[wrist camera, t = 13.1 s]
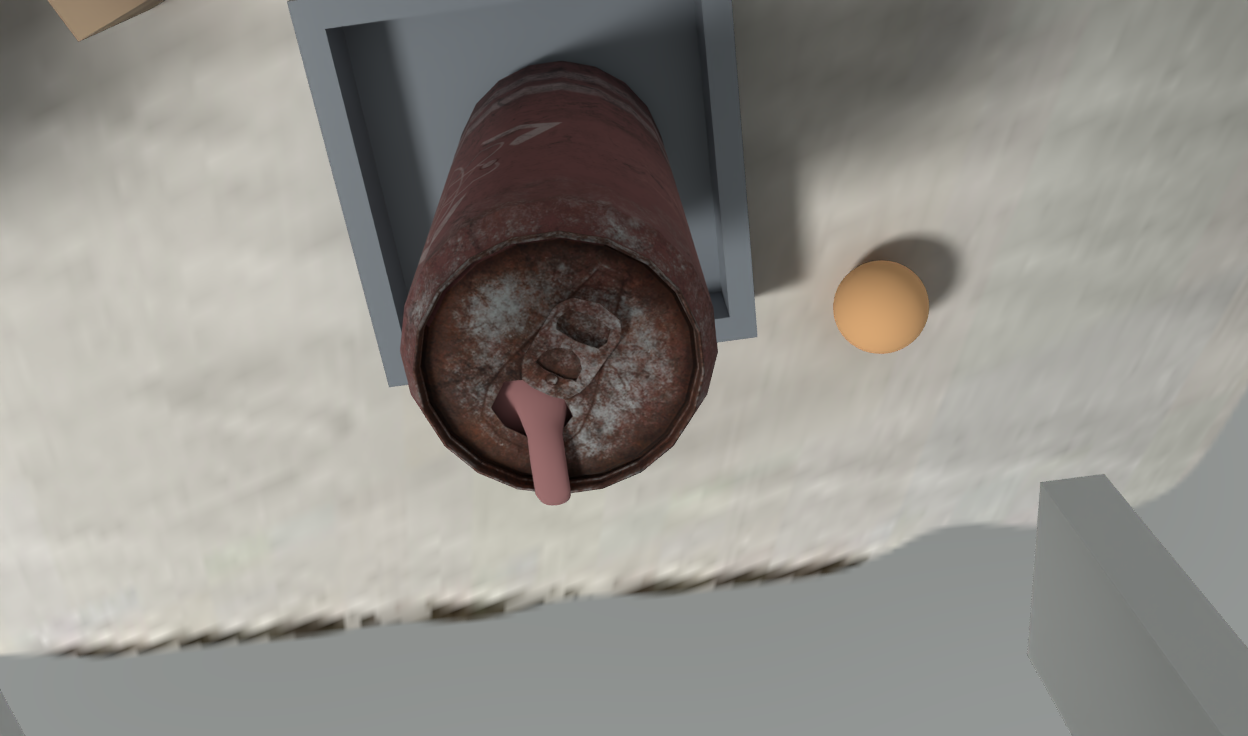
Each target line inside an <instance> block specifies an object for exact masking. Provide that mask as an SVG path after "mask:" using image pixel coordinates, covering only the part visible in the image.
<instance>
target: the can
mask: <svg viewBox="0 0 1248 736" xmlns="http://www.w3.org/2000/svg"><path fill="white" fill-rule="evenodd" d="M717 353H718V349H717V339H716V329H715V319H714V309H713V305H712V301H711V298H710V295H709V292H708V288H707V285H706V282H705V278H704V275H703V272H702V269H701V265H700V262H699V259H698V255H697V252H696V249H695V246H694V242H693V239H692V236H691V232H690V229H689V226H688V223H687V219H686V216H685V213H684V209H683V206H682V203H681V200H680V196H679V193H678V190H677V186H676V183H675V180H674V177H673V173H672V170H671V167H670V163H669V160H668V157H667V154H666V150H665V147H664V144H663V140H662V137H661V135H660V132H659V130H658V128H657V126H656V124H655V122H654V119H653V117H652V115H651V113H650V111H649V109H648V107H647V105H646V104H645V103H644V102H643V101H642V100H641V99H640V98H639V97H638V96H637V95H636V94H635V93H634V92H633V91H632V90H631V89H630V87H629V86H628V85H627V84H626V83H625V82H623V81H621V80H619V79H617V78H616V77H614V76H612V75H610V74H608V73H606V72H605V71H603V70H601V69H599V68H597V67H595V66H589V65H584V64H578V63H573V62H567V61H556V62H549V63H542V64H535V65H529V66H527V67H525V68H523V69H521V70H519V71H517V72H515V73H513V74H511V75H509V76H507V77H505V78H503V79H501V80H499V81H498V82H497V83H496V84H495V85H494V86H493V87H492V88H491V89H490V90H489V91H488V92H487V93H486V94H485V95H484V96H483V97H482V98H481V99H480V100H479V101H478V102H477V103H476V105H475V107H474V109H473V111H472V113H471V116H470V118H469V120H468V122H467V124H466V126H465V128H464V130H463V132H462V135H461V138H460V141H459V144H458V147H457V150H456V153H455V156H454V159H453V162H452V165H451V168H450V171H449V174H448V177H447V180H446V183H445V186H444V189H443V192H442V195H441V198H440V201H439V204H438V207H437V210H436V213H435V216H434V219H433V222H432V225H431V228H430V231H429V234H428V237H427V240H426V243H425V246H424V249H423V252H422V255H421V258H420V261H419V264H418V267H417V270H416V273H415V276H414V279H413V282H412V285H411V288H410V291H409V294H408V297H407V300H406V303H405V306H404V315H403V325H402V335H401V345H400V354H401V358H402V361H403V365H404V369H405V373H406V377H407V381H408V385H409V389H410V392H411V395H412V397H413V398H414V400H415V401H416V403H417V404H418V406H419V407H420V409H421V410H422V412H423V414H424V415H425V417H426V418H427V420H428V421H429V423H430V424H431V426H432V427H433V429H434V430H435V432H436V433H437V435H438V437H439V438H440V440H441V441H442V443H443V444H444V446H445V447H446V448H448V449H449V450H450V451H451V452H453V453H454V454H455V455H456V456H458V457H459V458H460V459H461V460H463V461H464V462H465V463H466V464H468V465H469V466H470V467H471V468H473V469H474V470H475V471H476V472H477V473H480V474H482V475H484V476H487V477H489V478H492V479H494V480H496V481H499V482H501V483H504V484H506V485H509V486H511V487H513V488H516V489H520V490H528V491H535V494H536V496H537V497H538V498H539V499H540V500H541V502H543V503H544V504H547V505H560V504H563V503H565V502H567V501H568V500H569V499H570V496H571V493H575V492H582V491H590V490H597V489H603V488H605V487H608V486H610V485H612V484H615V483H617V482H620V481H622V480H624V479H627V478H629V477H631V476H634V475H636V474H638V473H641V472H642V471H643V470H645V469H646V468H647V467H648V466H650V465H651V464H652V463H653V462H654V461H656V460H657V459H658V458H659V457H661V456H662V455H663V454H664V453H665V452H667V451H668V450H669V449H670V448H672V447H673V446H674V444H675V443H676V441H677V440H678V438H679V437H680V435H681V434H682V432H683V431H684V429H685V428H686V426H687V425H688V423H689V422H690V420H691V418H692V417H693V415H694V414H695V412H696V411H697V409H698V408H699V406H700V405H701V403H702V402H703V400H704V398H705V397H706V395H707V393H708V389H709V385H710V381H711V377H712V373H713V369H714V365H715V361H716V357H717Z"/></svg>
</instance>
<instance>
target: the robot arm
mask: <svg viewBox="0 0 1248 736" xmlns="http://www.w3.org/2000/svg"><path fill="white" fill-rule="evenodd" d="M1031 600H1032V601H1031V613H1030V626H1029V639H1028V651H1027V655H1028V657H1029V659H1030V661H1031V663H1032V665H1033V666H1034V668H1035V670H1036V672H1037V673H1038V675H1039V677H1040V679H1041V681H1042V682H1043V684H1044V686H1045V688H1046V690H1047V691H1048V693H1049V695H1050V697H1051V699H1052V701H1053V702H1054V704H1055V706H1056V708H1057V710H1058V711H1059V713H1060V715H1061V717H1062V719H1063V721H1064V722H1065V724H1066V726H1067V728H1068V729H1069V731H1070V733H1071V735H1072V736H1248V648H1247V646H1246V645H1245V644H1244V643H1243V642H1242V640H1241V639H1240V638H1239V637H1238V636H1237V634H1236V633H1235V632H1234V631H1233V630H1232V628H1231V627H1230V626H1229V625H1228V623H1227V622H1226V621H1225V620H1224V619H1223V617H1222V616H1221V615H1220V614H1219V613H1218V611H1217V610H1216V609H1215V608H1214V606H1213V605H1212V604H1211V603H1210V602H1209V601H1208V599H1207V598H1206V597H1205V596H1204V594H1203V593H1202V592H1201V591H1200V590H1199V588H1198V587H1197V586H1196V585H1195V583H1193V581H1192V580H1191V579H1190V577H1189V576H1188V575H1187V574H1186V573H1185V571H1184V570H1183V569H1182V568H1181V567H1180V565H1179V564H1178V563H1177V562H1176V561H1175V559H1174V558H1173V557H1172V556H1171V554H1170V553H1169V552H1168V551H1167V550H1166V548H1165V547H1164V546H1163V545H1162V544H1161V542H1160V541H1159V540H1158V539H1157V537H1156V536H1155V535H1154V534H1153V533H1152V531H1151V530H1150V529H1149V528H1148V526H1147V525H1146V524H1145V523H1144V522H1143V521H1142V519H1141V518H1140V517H1139V516H1138V514H1137V513H1136V512H1135V511H1134V510H1133V508H1132V507H1131V506H1130V505H1129V503H1128V502H1127V501H1126V500H1125V499H1124V497H1123V496H1122V495H1121V494H1120V493H1119V491H1118V490H1117V489H1116V488H1115V487H1114V485H1113V484H1112V483H1111V482H1110V480H1109V479H1108V478H1107V477H1106V476H1105V474H1101V475H1093V476H1085V477H1077V478H1069V479H1062V480H1054V481H1046V482H1040V495H1039V508H1038V521H1037V535H1036V549H1035V561H1034V573H1033V586H1032V599H1031ZM0 736H25V734H24V733H23V731H22V729H21V727H20V726H19V723H18V722H17V720H16V718H15V716H14V714H13V712H12V710H11V708H10V707H9V705H8V703H7V701H6V699H5V697H4V695H3V694H2V692H1V690H0Z"/></svg>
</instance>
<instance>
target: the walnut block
mask: <svg viewBox="0 0 1248 736" xmlns="http://www.w3.org/2000/svg"><path fill="white" fill-rule="evenodd" d="M163 1H165V0H48V2H49V3H50V4H51V6H52V7H53V8H54V10H55V11H56V12H57V14H58V15H59V16H60V18H61V19H62V20H63V22H64V23H65V24H66V26H67V27H68V28H69V30H70V31H71V32H72V34H73V35H74V36H75V38H76V39H77V40H78V42H79V41H81V40H83V39H86V38H88V37H90V36H92V35H95V34H97V33H99V32H101V31H103V30H106V29H108V28H110V27H112V26H114V25H117V24H119V23H121V22H123V21H126V20H128V19H130V18H132V17H134V16H137V15H139V14H141V13H143V12H146V11H148V10H150V9H151V8H153V7H155V6H156V5H158V4H160V3H161V2H163Z"/></svg>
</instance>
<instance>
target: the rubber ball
mask: <svg viewBox="0 0 1248 736" xmlns="http://www.w3.org/2000/svg"><path fill="white" fill-rule="evenodd" d="M833 311H834V318H835V322H836V324H837V327H838V329H839V330H840V332H841V334H842V335H843V336H844V337H845V339H846V340H847V341H849V342H850V343H851V344H852V345H854V346H855V347H857V348H859V349H861V350H863V351H866V352H870V353H878V354H884V353H891V352H895V351H898V350H900V349H903V348H904V347H906V346H908V345H909V344H911V343H912V342H913V341H914V340H915V339H916V338H917V337H918V336H919V335H920V333H921V332H922V330H923V328H924V326H925V324H926V321H927V319H928V314H929V299H928V295H927V291H926V289H925V287H924V285H923V283H922V281H921V280H920V279H919V277H918V276H917V275H916V274H915V273H914V272H913V271H912V270H910V269H909V268H907V267H905V266H903V265H901V264H899V263H896V262H892V261H884V260H879V261H872V262H868V263H865V264H862V265H860V266H858V267H857V268H855V269H853V270H852V271H851V272H850V273H849V274H848V275H846V276H845V278H844V279H843V280H842V281H841V283H840V285H839V286H838V289H837V291H836V294H835V297H834V303H833Z"/></svg>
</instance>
